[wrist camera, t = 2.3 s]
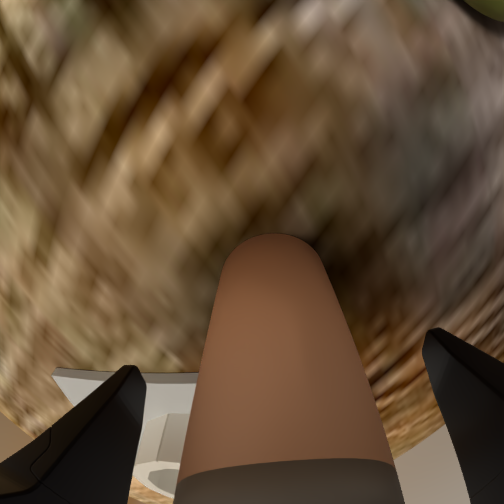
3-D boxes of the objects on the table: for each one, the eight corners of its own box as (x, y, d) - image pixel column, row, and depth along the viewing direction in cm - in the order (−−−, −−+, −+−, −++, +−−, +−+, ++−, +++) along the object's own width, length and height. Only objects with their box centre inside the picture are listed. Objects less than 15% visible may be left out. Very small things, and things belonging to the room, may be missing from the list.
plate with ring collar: (341, 357, 14) (360, 424, 10) (331, 464, 20) (337, 506, 16) (56, 367, 16) (28, 412, 12) (136, 465, 21) (127, 501, 17)
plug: (322, 226, 11) (442, 483, 2) (326, 317, 13) (380, 535, 4) (210, 241, 12) (123, 507, 3) (231, 329, 14) (206, 550, 4)
